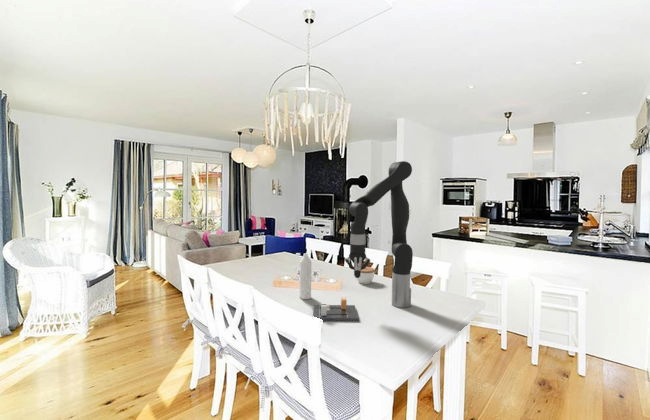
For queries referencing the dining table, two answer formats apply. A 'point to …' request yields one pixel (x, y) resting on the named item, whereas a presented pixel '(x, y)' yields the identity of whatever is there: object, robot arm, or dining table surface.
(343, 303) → the fader orange
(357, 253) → the robot arm
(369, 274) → the lidded bowl
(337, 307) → the console
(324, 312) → the white banded fader cap
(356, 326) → the dining table surface
